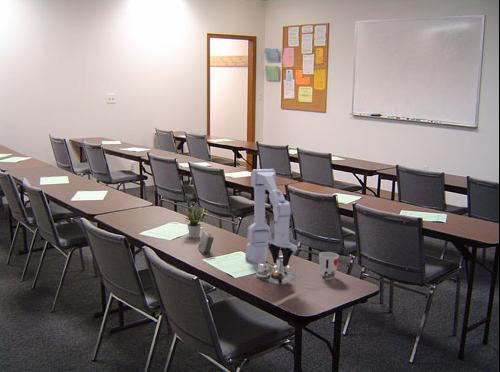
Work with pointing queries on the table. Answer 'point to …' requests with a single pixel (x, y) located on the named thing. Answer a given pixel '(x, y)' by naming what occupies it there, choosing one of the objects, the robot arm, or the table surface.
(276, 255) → the robot arm
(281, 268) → the gear
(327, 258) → the cup
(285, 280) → the carrier
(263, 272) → the silver rounded piece
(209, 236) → the electrical switch
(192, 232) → the house plant
